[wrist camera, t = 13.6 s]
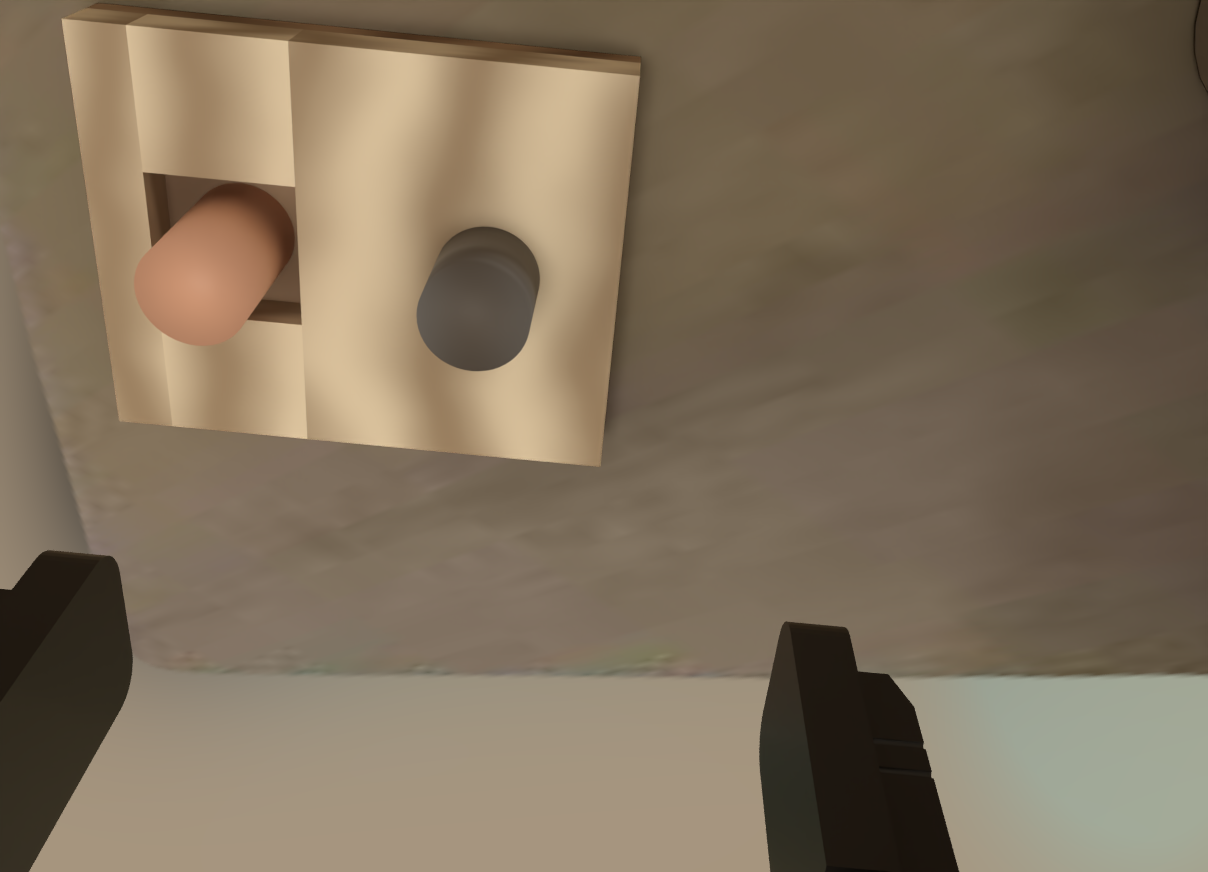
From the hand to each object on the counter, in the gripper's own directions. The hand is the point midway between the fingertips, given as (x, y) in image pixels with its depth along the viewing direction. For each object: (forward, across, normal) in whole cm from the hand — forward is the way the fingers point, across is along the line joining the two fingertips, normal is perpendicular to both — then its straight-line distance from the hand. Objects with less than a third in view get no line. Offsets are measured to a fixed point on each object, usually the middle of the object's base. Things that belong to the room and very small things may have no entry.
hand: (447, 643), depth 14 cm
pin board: (+33, +8, +8) cm, 35 cm away
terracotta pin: (+32, +13, +8) cm, 35 cm away
